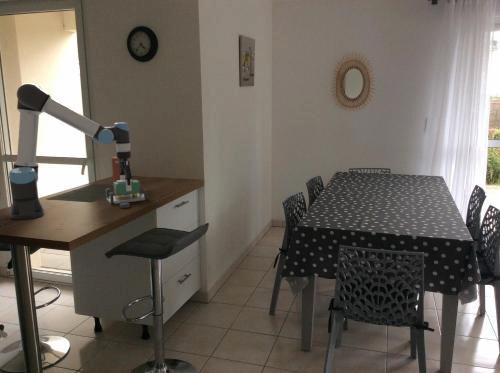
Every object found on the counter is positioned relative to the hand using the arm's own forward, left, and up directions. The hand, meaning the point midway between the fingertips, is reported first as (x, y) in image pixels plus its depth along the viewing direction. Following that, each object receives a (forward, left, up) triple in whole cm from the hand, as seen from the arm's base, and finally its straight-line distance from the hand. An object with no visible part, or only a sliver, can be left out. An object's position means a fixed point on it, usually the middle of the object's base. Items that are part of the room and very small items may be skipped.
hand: (126, 188), depth 257 cm
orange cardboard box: (+3, +24, -6) cm, 25 cm away
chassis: (0, 0, -6) cm, 6 cm away
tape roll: (-5, -17, -6) cm, 19 cm away
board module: (0, 0, -2) cm, 2 cm away
